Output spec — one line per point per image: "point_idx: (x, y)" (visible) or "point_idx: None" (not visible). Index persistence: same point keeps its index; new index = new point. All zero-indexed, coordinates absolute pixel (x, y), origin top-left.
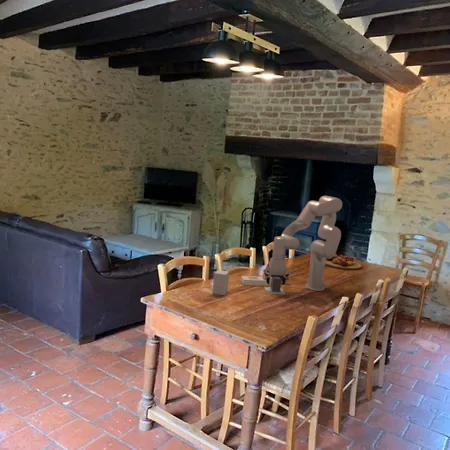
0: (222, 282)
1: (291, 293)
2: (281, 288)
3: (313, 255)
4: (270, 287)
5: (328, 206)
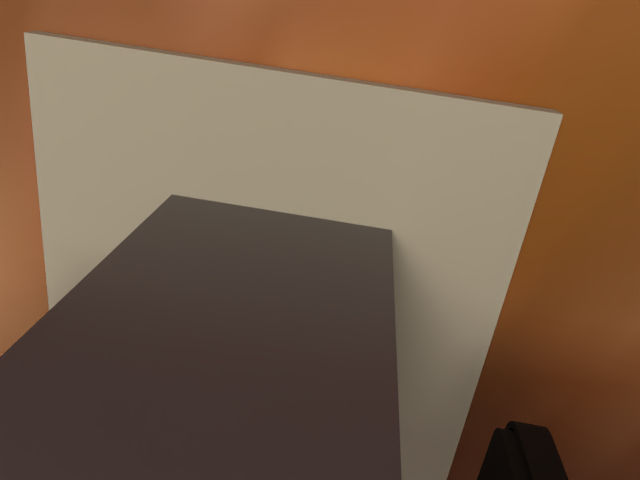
0: None
1: (616, 451)
2: (540, 172)
3: None
4: (154, 219)
5: None
